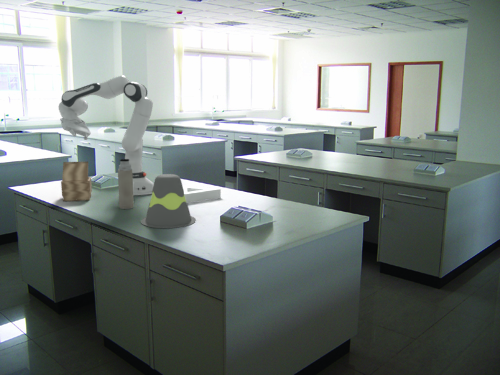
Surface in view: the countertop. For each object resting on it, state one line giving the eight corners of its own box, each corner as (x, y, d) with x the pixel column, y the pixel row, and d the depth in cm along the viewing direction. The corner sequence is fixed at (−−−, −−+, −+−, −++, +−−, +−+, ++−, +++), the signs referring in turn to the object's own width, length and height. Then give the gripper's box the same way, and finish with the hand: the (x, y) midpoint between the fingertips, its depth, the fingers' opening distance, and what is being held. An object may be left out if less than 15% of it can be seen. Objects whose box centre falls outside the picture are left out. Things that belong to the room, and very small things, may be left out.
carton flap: (88, 162, 277) (88, 161, 276) (87, 180, 269) (87, 179, 268) (63, 162, 273) (63, 161, 272) (62, 181, 265) (62, 180, 265)
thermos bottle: (122, 205, 260) (120, 158, 254) (135, 205, 259) (133, 158, 253) (117, 208, 252) (115, 160, 246) (130, 209, 251) (128, 160, 246)
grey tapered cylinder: (160, 212, 246) (158, 169, 242) (205, 217, 236) (204, 173, 232) (129, 224, 221) (127, 177, 216) (178, 231, 211) (177, 182, 206)
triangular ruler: (179, 205, 264) (179, 195, 263) (158, 197, 284) (158, 188, 283) (220, 198, 283) (220, 189, 282) (198, 191, 303) (198, 182, 302)
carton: (92, 195, 285) (91, 176, 283) (90, 200, 272) (89, 181, 269) (65, 196, 281) (64, 177, 279) (62, 201, 267) (60, 181, 265)
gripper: (62, 113, 275) (70, 130, 269) (87, 122, 293) (95, 138, 288) (56, 120, 276) (64, 136, 271) (81, 129, 294) (89, 144, 289)
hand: (80, 137), depth 280 cm, fingers open, 8 cm apart
